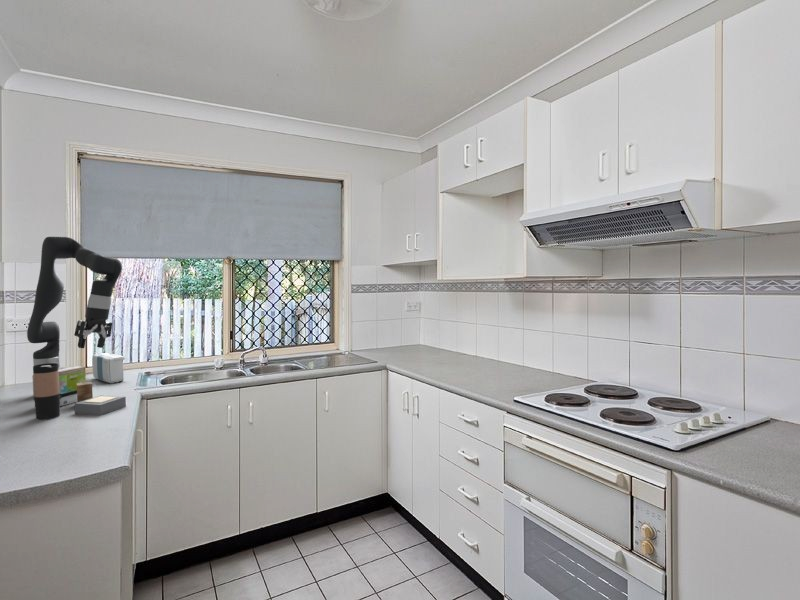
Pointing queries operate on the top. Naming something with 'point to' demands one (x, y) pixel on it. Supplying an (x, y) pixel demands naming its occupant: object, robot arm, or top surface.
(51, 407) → the travel mug
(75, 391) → the tea box
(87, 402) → the base
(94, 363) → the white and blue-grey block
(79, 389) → the walnut block
